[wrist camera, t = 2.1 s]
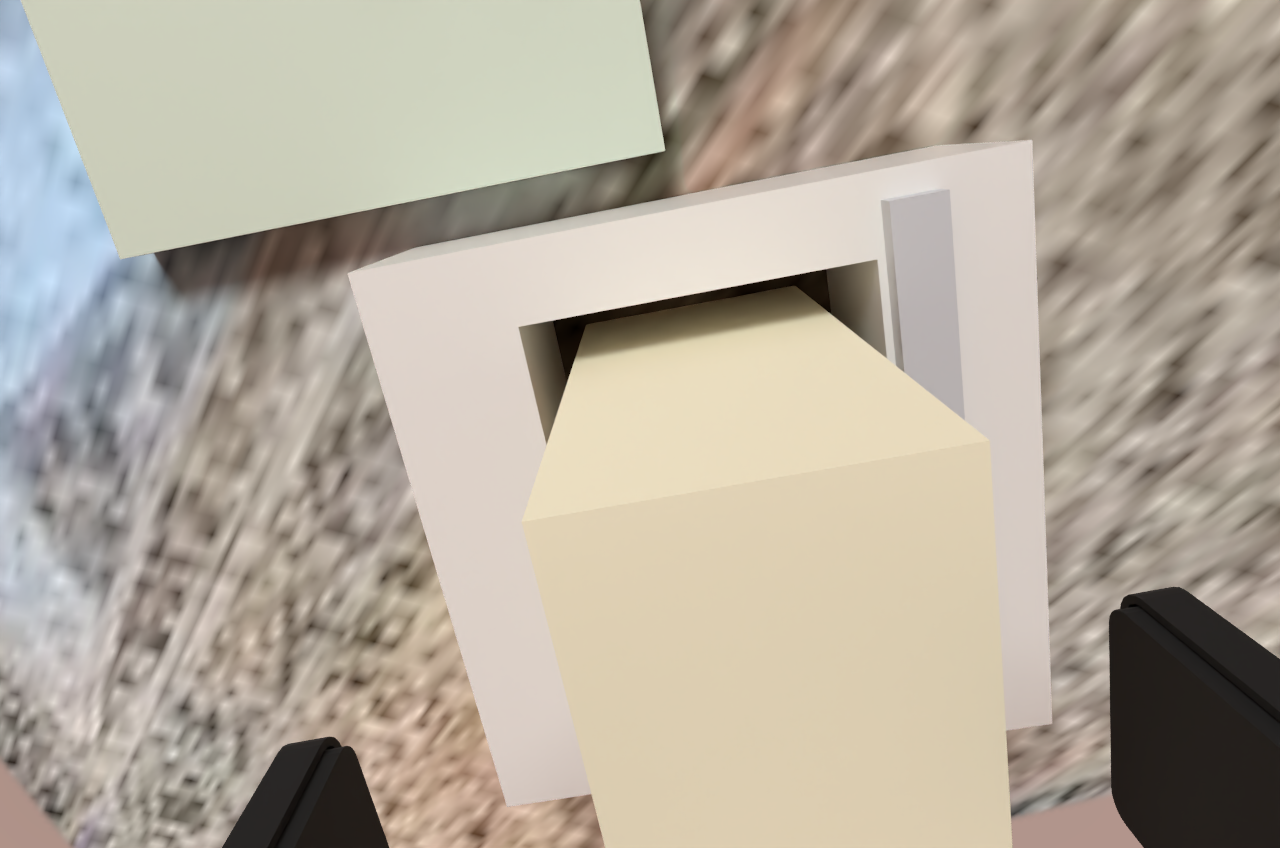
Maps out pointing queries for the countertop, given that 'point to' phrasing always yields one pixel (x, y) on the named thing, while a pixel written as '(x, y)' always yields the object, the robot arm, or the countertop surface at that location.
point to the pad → (334, 103)
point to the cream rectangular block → (771, 587)
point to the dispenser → (683, 265)
